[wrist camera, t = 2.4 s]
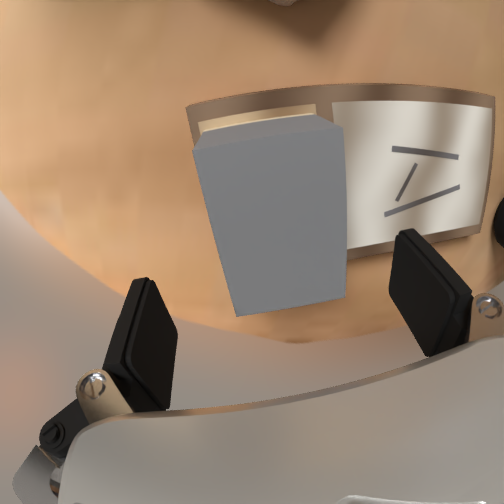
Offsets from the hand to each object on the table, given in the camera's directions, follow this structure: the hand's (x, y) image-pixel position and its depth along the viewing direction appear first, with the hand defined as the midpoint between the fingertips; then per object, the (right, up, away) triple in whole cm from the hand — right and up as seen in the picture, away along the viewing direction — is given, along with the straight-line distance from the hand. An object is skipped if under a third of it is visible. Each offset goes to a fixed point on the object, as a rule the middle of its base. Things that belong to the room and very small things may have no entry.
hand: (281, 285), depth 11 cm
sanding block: (0, +5, +6) cm, 8 cm away
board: (+7, +7, +8) cm, 13 cm away
